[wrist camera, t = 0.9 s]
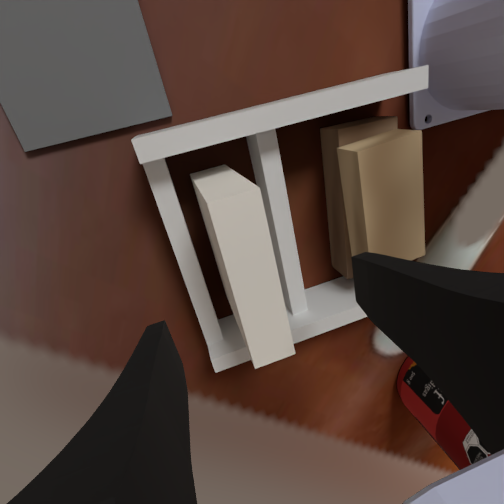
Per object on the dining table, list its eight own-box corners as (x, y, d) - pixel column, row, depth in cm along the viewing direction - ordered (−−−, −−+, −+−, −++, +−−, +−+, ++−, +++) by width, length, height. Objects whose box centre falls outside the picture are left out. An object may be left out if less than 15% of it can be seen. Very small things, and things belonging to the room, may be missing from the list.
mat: (87, -165, 12) (86, -171, 12) (172, 115, 17) (172, 115, 16) (-119, -142, 11) (-125, -148, 11) (27, 151, 16) (25, 151, 15)
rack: (382, 74, 19) (428, 64, 15) (391, 271, 24) (427, 294, 21) (136, 135, 16) (131, 139, 13) (207, 336, 22) (215, 372, 19)
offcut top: (395, 128, 18) (421, 130, 16) (402, 242, 21) (425, 254, 19) (336, 148, 17) (357, 151, 15) (352, 261, 20) (371, 275, 18)
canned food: (465, 317, 28) (632, 425, 18) (469, 381, 31) (611, 500, 22) (387, 356, 27) (517, 491, 17) (399, 417, 31) (514, 557, 21)
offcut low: (370, 116, 20) (397, 116, 18) (373, 250, 24) (396, 264, 21) (316, 128, 19) (338, 129, 17) (329, 263, 23) (347, 279, 21)
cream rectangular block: (224, 164, 18) (259, 187, 12) (255, 285, 22) (295, 353, 15) (189, 173, 18) (207, 203, 12) (226, 295, 21) (255, 368, 15)
